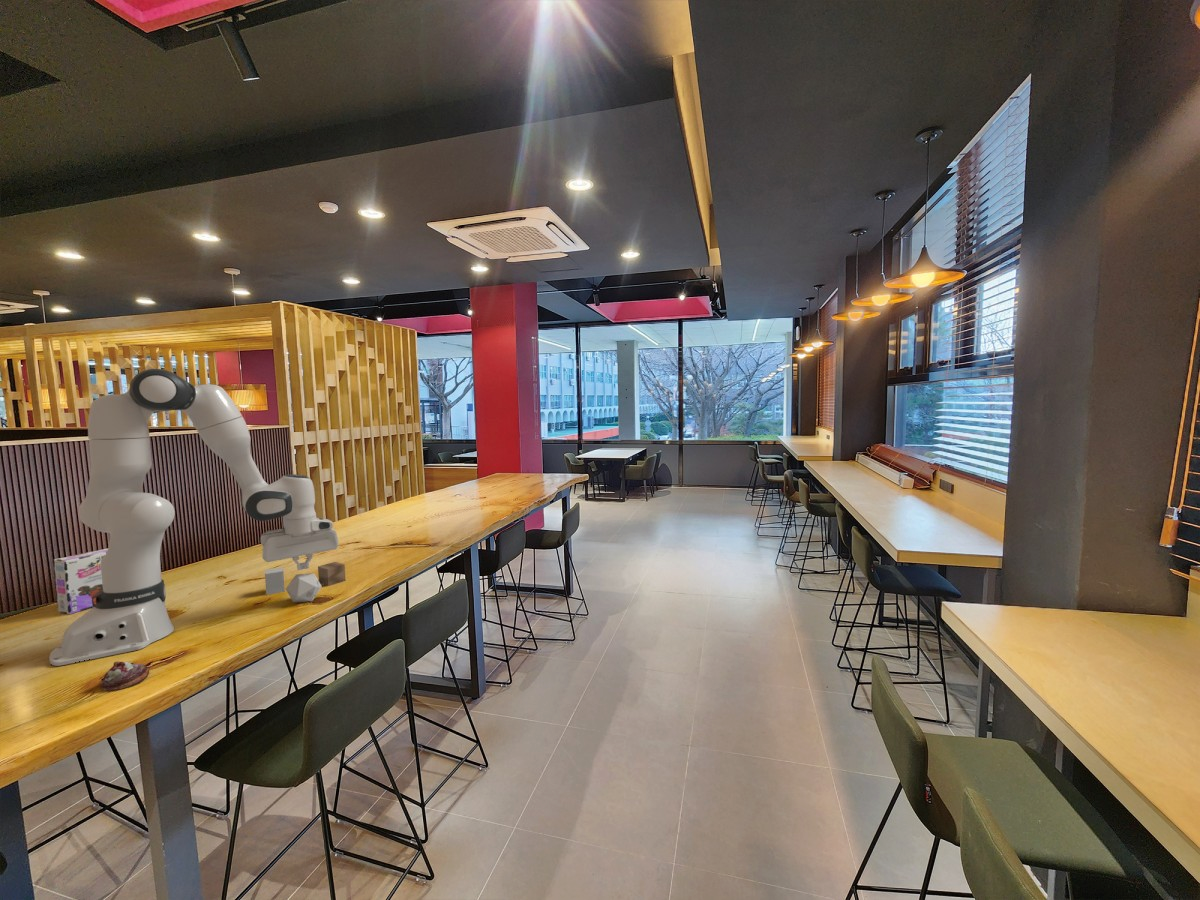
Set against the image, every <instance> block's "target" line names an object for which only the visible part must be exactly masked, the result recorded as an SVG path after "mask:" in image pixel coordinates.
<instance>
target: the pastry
mask: <svg viewBox="0 0 1200 900" xmlns="http://www.w3.org/2000/svg"><path fill="white" fill-rule="evenodd" d="M149 674H150V668H149V667H148V666H147V665H146V664H143V663H133V664H132V662H131V661H130V662H129V661H128V662H126V661H115V662H113V666H111V668H109V670H107V671H106V673H105V674H104V676H103V677H104V678H103V680H102V681H101V682H100V687H99V688H100V689H101V690H102V691H103V692H117V691H121V690H124V689H129V688H132V687H134V686H137V685H139V684H141V683H142V682H144V681H145V680H146V679H147V678H148V675H149Z"/></svg>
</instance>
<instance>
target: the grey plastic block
mask: <svg viewBox="0 0 1200 900" xmlns="http://www.w3.org/2000/svg"><path fill="white" fill-rule="evenodd" d="M284 572H285V571H284V567H282V566H281V567H276V568H271V569H270V568H269V569H265V570H264V581H265V594H266V596H268V595H273V594H274V595H275V594H279V593H284V592H286V587H285V573H284Z"/></svg>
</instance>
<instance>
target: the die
mask: <svg viewBox="0 0 1200 900" xmlns="http://www.w3.org/2000/svg"><path fill="white" fill-rule="evenodd" d="M321 589H322V584H320V583H319V578H318V577H317V576H316V574H315V573H313V572H312V573H300V574H295V575H294V577H293V578H292V580H291V581H290V582H289V584H288V585H286V587H285V592H287V594H288V596H289V597H290V599H291V601H292V602H293V603H294V604H295V603H307V602H313V601H314V599H315V598H316V596H317V594H318V593H319V592H320V590H321ZM293 603H292V604H293Z"/></svg>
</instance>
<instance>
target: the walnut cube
mask: <svg viewBox="0 0 1200 900" xmlns="http://www.w3.org/2000/svg"><path fill="white" fill-rule="evenodd" d="M317 573H318V577H317V578H318V581H319V583H320V584H321V585H324V586H327V587H330V586H333V585H337V584H340V583H343V582H346V579H347V578H346V564H345V563H341V562H338V561H333V562H329V563H325V564H321V565H318V566H317Z"/></svg>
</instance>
